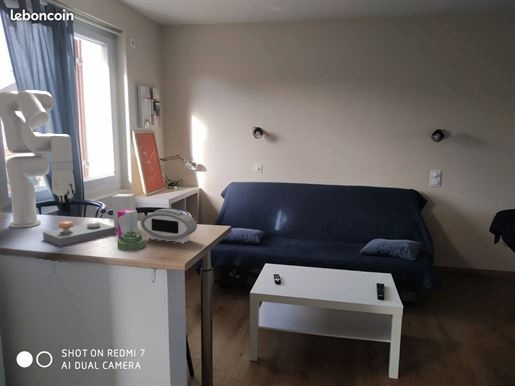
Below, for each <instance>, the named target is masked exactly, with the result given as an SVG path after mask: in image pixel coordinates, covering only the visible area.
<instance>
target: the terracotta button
mask: <svg viewBox="0 0 515 386" xmlns="http://www.w3.org/2000/svg"><path fill="white" fill-rule="evenodd" d="M70 227H74V221H70V220H67V221H66V220H65V221H61V222H58V229H63V234H68V233H70V231H69V228H70Z"/></svg>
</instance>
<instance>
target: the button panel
mask: <svg viewBox="0 0 515 386" xmlns="http://www.w3.org/2000/svg"><path fill="white" fill-rule="evenodd" d="M69 231H70V233H68V234H63V228H58V229H53V230H50V231H44V232H43V233H42V236H43V240H44V241H47V242H49V243H51V244H55V245H57V246H60V247H63V246H66V245H67V246H68V245H73V244H77V243H81V242H86V241H89V240H93V239H99V238H103V237H107V236H108V237H109V236H112V235H117V230H116V227H114V225H110V224H105V223H102V222H100V227H97V228H93V229H91V228H89V227H87V223H86V224H81V225H75V226H73V227H70V228H69Z"/></svg>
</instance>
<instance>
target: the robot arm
mask: <svg viewBox="0 0 515 386" xmlns="http://www.w3.org/2000/svg"><path fill="white" fill-rule="evenodd" d="M54 107H55V101H54V98H53V96H52V95H51V94H50V93H49V92H48V91H42V90H29V89H28V90H27V89H26V90H25V89H24V90H20V91H9V90H8V91H1V92H0V119H1V122H2V125H3V130H4V137H5V138H4V139H5V142H6V144H5V145H6V148H7V150H8V151H9V152H10V153H12V154H33V155H23V156H22V155H21V156H20V155H19V156H13V157H10V158H8V159H7V160H6V164H5V168H6V173H7V175H8V180H9V185H10V199H11V208H12V211H11V212H12V222H10V223H9V227H11V228H15V229H22V228H25V229H26V228H32V227H35V226H40V225H41V223H42V222H41V220H40V219H38V217H37V202H36V192H35V185H34V184H33V183H32V181H31V180H30V179H29V178H32V177H42V176H43V177H44V176H46V175H48V174H49V172H50V168H51V192H52V194H53V195H56V196H57V197H58V198H59V200H58V201H59V204H60V206H59V207H60V212H61V213H69V212H71V211H72V210H71V199H73V198H74V196H73V195H74V194H75V193H76V185H75V176H74V172H73V170H74V164H73V162H74V160H73V147H72V138H71V136H70V135H69V134H61V133H40V132H34V130H37V129H40V128H41V127H43V126H45V125H46V124H47V123H48V121H49V118H50V117H49V115H48V113H47V112H51V111H52V110H53V109H54ZM17 112H21V114H22V116H23V118H24V119H25V120H24V119H23V118H22V117H21V116H20V114H18V113H17ZM49 154H50V157H51V158H50V159H51V167H50V159H49Z"/></svg>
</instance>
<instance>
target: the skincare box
mask: <svg viewBox="0 0 515 386" xmlns="http://www.w3.org/2000/svg"><path fill="white" fill-rule="evenodd" d="M111 203H112V215H113V227H116V231H118V211H122V210H136V194H135V193H118V194H115V195H112V196H111Z"/></svg>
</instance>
